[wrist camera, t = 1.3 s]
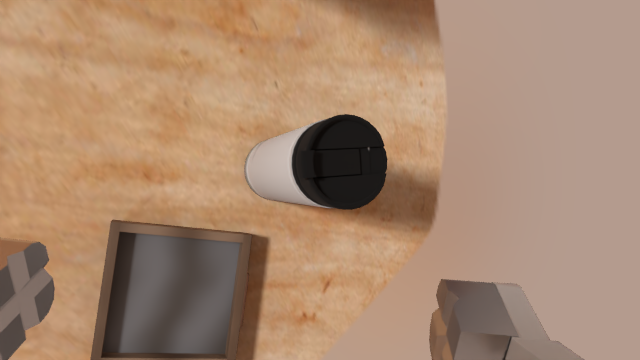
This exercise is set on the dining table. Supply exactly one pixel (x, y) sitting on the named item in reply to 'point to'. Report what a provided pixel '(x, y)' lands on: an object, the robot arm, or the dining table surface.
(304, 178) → the travel mug
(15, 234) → the dining table surface
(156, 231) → the square tray
